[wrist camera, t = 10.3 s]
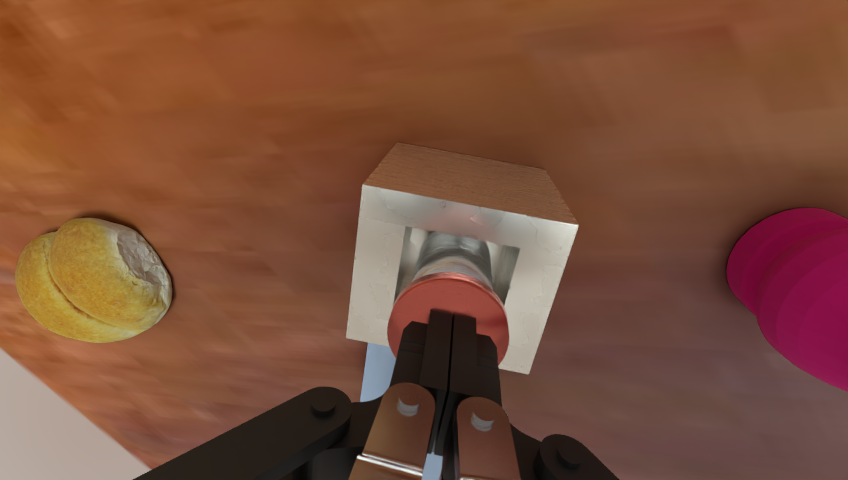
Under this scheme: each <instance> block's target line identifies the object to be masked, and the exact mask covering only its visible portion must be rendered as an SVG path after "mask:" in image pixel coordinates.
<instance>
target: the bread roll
mask: <svg viewBox="0 0 848 480" xmlns="http://www.w3.org/2000/svg"><path fill="white" fill-rule="evenodd" d="M15 283H16V287H17V291H18V295H19V297H20V299H21V301H22V303H23V305H24V306H25V308H26V309H27V311H28V312H29V313H30V314H31V315H32V316H33V317H34V319H36V320H37V321H38V322H39V323H40V324H41V325H43V326H44V327H46V328H47V329H49V330H51V331H52V332H54V333H57V334H59V335H61V336H65V337H68V338H72V339H77V340H82V341H87V342H95V343H104V342H113V341H118V340H124V339H128V338H131V337H133V336H136V335H138V334H140V333H141V332H143V331H145V330H147V329H149V328H151V327H152V326H153V325H154V324H156V323H157V322H158V321H160V320H161V318H162V317H163V316H164V315H165V314H166V312H167V310H168V308H169V306H170V304H171V300H172V285H171V279H170V276H169V274H168V272H167V270H166V269H165V267H164V266H163V264H162V262H161V260H160V258H159V256H158V255H157V253H156V252H155V251H154V250H153V248H152V247H151V246H150V245H149V244H148V242H147V241H146V240H145V239H144V238H143V237H142V236H141V235H140V234H139V233H138V232H136V231H134V230H133V229H131V228H129V227H126V226H123V225H120V224H116V223H112V222H109V221H105V220H102V219H97V218H78V219H72V220H70V221H68V222H66V223H65V224H63V225H62V226H61V227H60V228H59V229H58V231H56V232H50V233H47V234H43V235H40V236H38V237H37V238H35V239H33V240H32V241H31V242H29V243H28V244H27V245H26V247H25V248H24V249H23V251H22V253H21V255H20V257H19V260H18V262H17V266H16V271H15Z"/></svg>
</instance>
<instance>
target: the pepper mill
mask: <svg viewBox="0 0 848 480" xmlns="http://www.w3.org/2000/svg"><path fill="white" fill-rule="evenodd" d="M726 273H727V280H728V284H729V287H730V289H731V291H732V292H733V294H734V295H735V296H736V297H737V298H738V299H739V300H740V301H741V302H742V303H743V304H744V305H745V306H746V307H747V308H748V309H749V310H750V311H751V312H752V313H753V314H755V315H756V316H757V320H758V324H759V326H760V329H761V331H762V333H763V335H764V336H765V338H766V340H767V341H768V342H769V343H770V344H771V345H772V346H773V347H774V348H775V349H776V350H777V351H778V352H779V353H780V354H782V355H783V356H784V357H785V358H787V359H788V360H789V361H790V362H791V363H793V364H794V365H796V366H797V367H799V368H800V369H802V370H803V371H805V372H807V373H809V374H811V375H813V376H814V377H816V378H818V379H820V380H822V381H824V382H826V383H828V384H830V385H833V386H835V387H838V388H840V389H843V390H845V391H848V219H846V218H844V217H842V216H840V215H838V214H835V213H833V212H830V211H828V210H824V209H819V208H797V209H792V210H787V211H783V212H780V213H778V214H775V215H772V216H770V217H768V218H766V219H764V220H763V221H761V222H759V223H758V224H756V225H755V226H753V227H751V228H750V229H749V230H748V231H747V232H746V233H745V234H744V235H743V236H742V237H741V239H740V240H739V241H738V242H737V243H736V245H735V246H734V248H733V250H732V252H731V254H730V256H729V259H728V264H727V269H726Z"/></svg>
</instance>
